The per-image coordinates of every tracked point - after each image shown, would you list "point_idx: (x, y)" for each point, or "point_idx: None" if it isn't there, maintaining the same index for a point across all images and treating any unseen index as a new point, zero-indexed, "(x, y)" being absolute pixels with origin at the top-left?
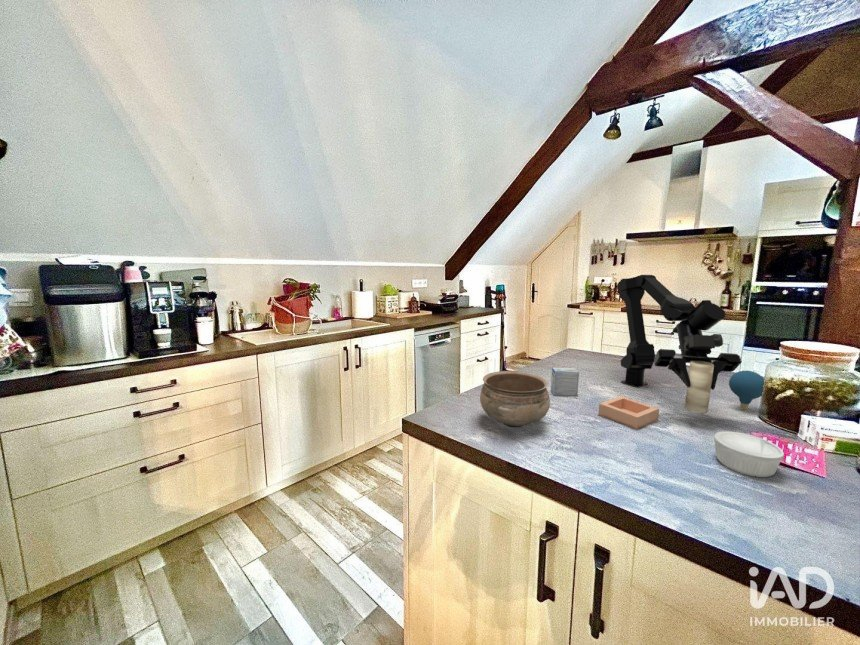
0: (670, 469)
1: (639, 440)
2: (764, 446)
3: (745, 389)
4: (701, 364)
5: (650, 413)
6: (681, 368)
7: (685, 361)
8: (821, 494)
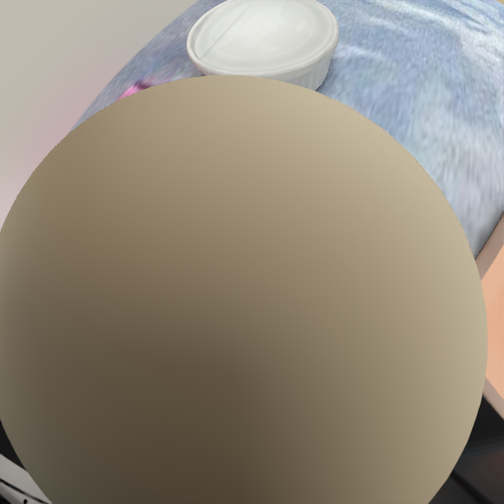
0: (432, 36)
1: (495, 141)
2: (214, 41)
3: None
4: (232, 199)
5: (486, 267)
6: (488, 414)
7: (502, 499)
8: None
